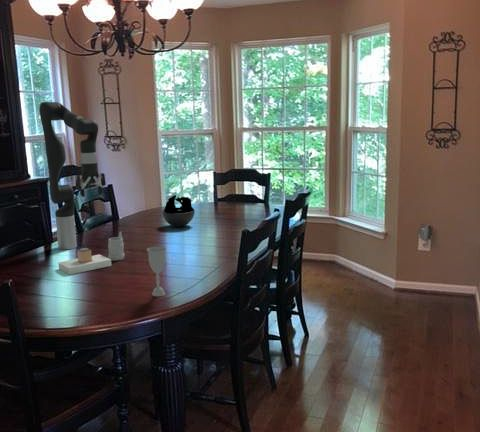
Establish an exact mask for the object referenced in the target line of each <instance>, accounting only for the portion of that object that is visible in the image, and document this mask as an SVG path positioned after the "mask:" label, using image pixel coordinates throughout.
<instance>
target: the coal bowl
mask: <svg viewBox="0 0 480 432" xmlns="http://www.w3.org/2000/svg"><path fill="white" fill-rule="evenodd" d="M176 201H177V202H179V204H180V205H181V206H179V207H177V206H176V204H175V203H176ZM195 212H196V211H195V208H193V205H192V199H191V198H189V197H187V196H180V197H177V194H174V195H172V196H171V197H169V198H168V199H167V202H166V203H165V206H164V209H163V210H162V211H161V214H162V217H163V219H164V221H165V222H166V223H167V224H168V225H170V226H172V227H175V228H176V227H177V228H180V227H185V226H187V225H188V224H190V223H191V222H192V220H193V219H194V216H195V214H196V213H195Z"/></svg>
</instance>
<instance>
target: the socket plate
mask: <svg viewBox="0 0 480 432" xmlns="http://www.w3.org/2000/svg"><path fill="white" fill-rule="evenodd" d="M57 265H58V269H59V270H60V271H62V272H64V273H65V274H67V275H74V274H80V273H85V272H90V271H94V270H98V269H103V268H108V267H112V260H111V259H109V257H108V256H104V255H102V254H95V255H92V262H87V263H82V264H81V263H79V262H78V258H75V259H69V260H65V261H59V262H58V264H57Z"/></svg>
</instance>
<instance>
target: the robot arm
mask: <svg viewBox="0 0 480 432" xmlns="http://www.w3.org/2000/svg"><path fill="white" fill-rule="evenodd" d="M38 109H39V116H40V122H41V126H42V131H43V137H44V138H43V139H44V146H45V154H46V155H45V156H46V160H47V161H46V162H47V168H48V169H47V170H48V177H49V178H48V179H49V180H48V181H49V195H50V200H51V202H52V203H53V204H55V205H56V204H57V205H58V204H63V205H62V206H61V207H60V208H58V209H56V210H55V213H54V214H55V223H56V225H55V227H56V236H57V247H58V248H57V249H58V250H65V251H67V250H72V249H76V248H77V234H76V223H75V222H76V221H75V193H74V189H73V186H72V184H59V178H60V173H61V172H62V169H63V168H64V165H65V163H66V160H67V155H66V149H65V145H64V142H63V141H62V140H61V138H60V137H59V136H58V135H57V133H56V131H55V130H54V127H53V124H52V121H54V122H55V121H63V123H64V124H65V125H66V126H67V127H69V128H71V129H73V131H74V132H75V133H76V135H81V136H87V138H86V139H83V140H81V141H80V143H79V145H80V166H81V168H80V169H81V174H80V175H75V177H74V178H75V181H74V182H75V188H76V189H79V192H80V193H79V194H80V196H81V197H82V198H85V197H86V196H85V187H86V186H87V185H88V184H96V186H97V194H98V195H99V196H102V195H103V187H104V186H106V184H107V183H106V182H107V181H106V175H105V173H102V172H100V173H99V166H98V165H99V164H98V157H97V155H98V154H97V145H96V143H97V138H98V133H99V123H97V121H96V120H95V119H84V117H82V116H81V115H78V114H76V113H74V112H72V111H70V110H69V108H67V107H66V106H64V105H63V104H62V103H60V102H59V101H43V102H41V103H40V105H39V108H38ZM81 179H82V181H81ZM99 179H100V181H99Z"/></svg>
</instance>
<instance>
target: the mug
mask: <svg viewBox="0 0 480 432" xmlns="http://www.w3.org/2000/svg"><path fill="white" fill-rule="evenodd" d="M124 247H125V244H124V238H123V236H122V231H118V237H117V236H116V237H115V236H113V237H111V238H108V245H107V248H108V254H107V258H109V259H111V261H113V262H114V261H116V262H117V261H121V260H124V258H125V256H126V255H125V252H124V250H125V249H124Z"/></svg>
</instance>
